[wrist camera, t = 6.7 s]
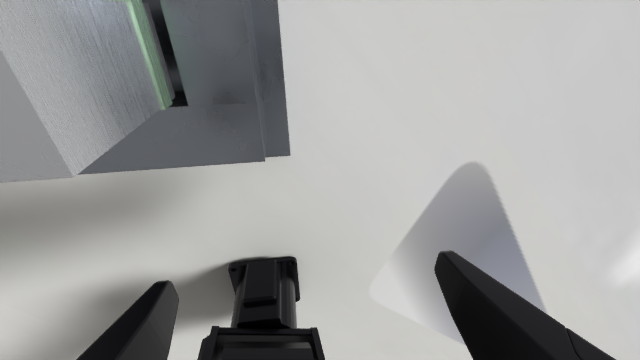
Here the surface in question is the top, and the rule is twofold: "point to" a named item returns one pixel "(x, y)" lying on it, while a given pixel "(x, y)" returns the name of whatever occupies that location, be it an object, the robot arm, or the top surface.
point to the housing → (212, 89)
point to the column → (74, 82)
